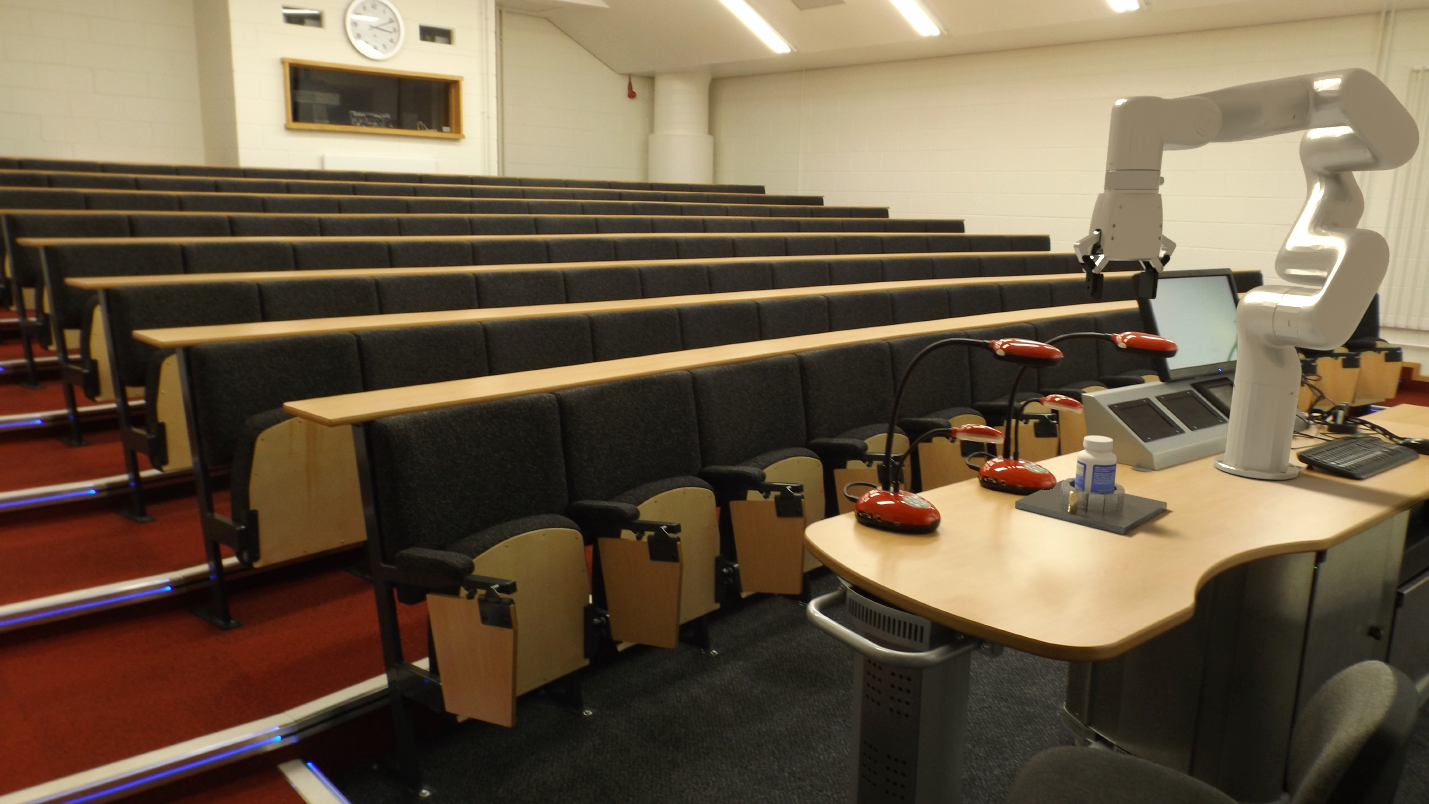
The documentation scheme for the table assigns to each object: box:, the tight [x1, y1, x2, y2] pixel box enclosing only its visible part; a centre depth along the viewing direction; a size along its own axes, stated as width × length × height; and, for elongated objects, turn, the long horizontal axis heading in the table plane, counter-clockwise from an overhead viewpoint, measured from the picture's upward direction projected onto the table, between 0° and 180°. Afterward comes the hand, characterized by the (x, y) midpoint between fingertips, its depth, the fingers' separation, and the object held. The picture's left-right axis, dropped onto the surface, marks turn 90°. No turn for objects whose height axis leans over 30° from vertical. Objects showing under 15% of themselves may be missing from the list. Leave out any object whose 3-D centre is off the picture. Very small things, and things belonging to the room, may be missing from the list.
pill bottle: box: [1075, 435, 1118, 493], centre depth 135 cm, size 5×5×10 cm
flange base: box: [1014, 477, 1168, 536], centre depth 136 cm, size 16×16×4 cm
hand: (1120, 298), depth 140 cm, fingers open, 9 cm apart
